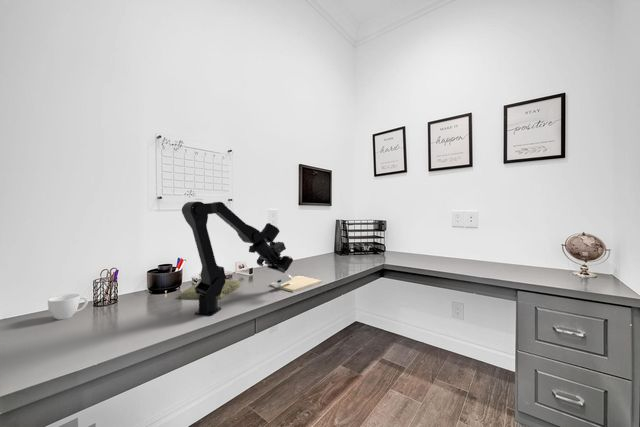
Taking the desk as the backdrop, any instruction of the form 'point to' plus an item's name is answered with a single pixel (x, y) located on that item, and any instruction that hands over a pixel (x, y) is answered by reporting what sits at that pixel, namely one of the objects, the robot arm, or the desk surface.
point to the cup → (65, 305)
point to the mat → (299, 283)
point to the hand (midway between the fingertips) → (284, 272)
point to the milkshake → (283, 281)
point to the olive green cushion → (227, 288)
